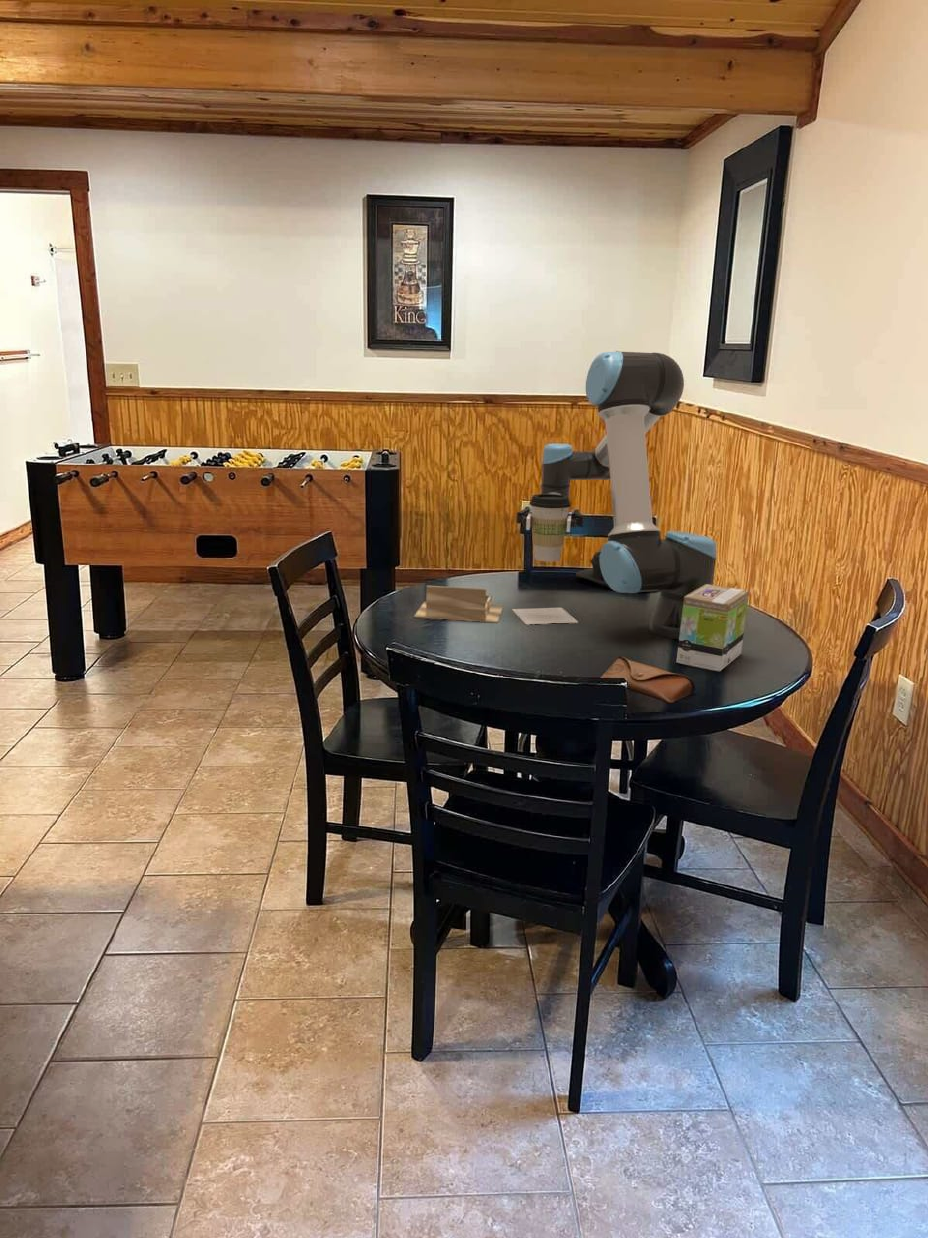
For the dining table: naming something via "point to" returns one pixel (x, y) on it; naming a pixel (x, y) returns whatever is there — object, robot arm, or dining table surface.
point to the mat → (544, 616)
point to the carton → (458, 605)
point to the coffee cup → (549, 525)
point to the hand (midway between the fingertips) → (548, 525)
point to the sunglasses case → (651, 680)
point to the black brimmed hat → (594, 571)
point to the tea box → (712, 627)
